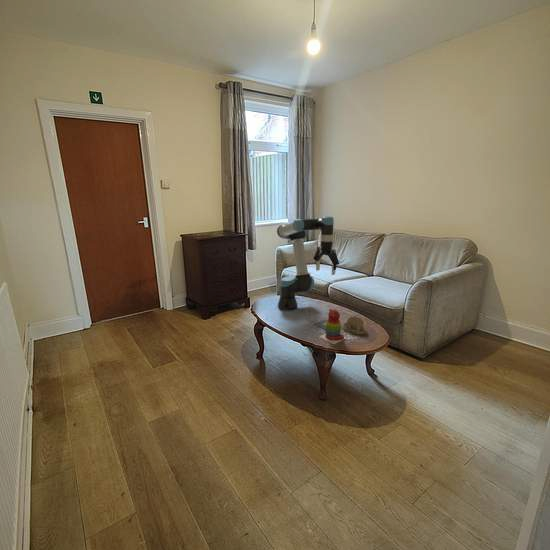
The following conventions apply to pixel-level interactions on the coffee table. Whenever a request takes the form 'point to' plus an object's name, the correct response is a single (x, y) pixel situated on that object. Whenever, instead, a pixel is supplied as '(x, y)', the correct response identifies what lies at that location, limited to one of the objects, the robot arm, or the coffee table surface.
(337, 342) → the pad
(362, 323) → the beige lumpy chunk
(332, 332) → the stacking bear
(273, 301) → the coffee table surface
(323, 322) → the pad
